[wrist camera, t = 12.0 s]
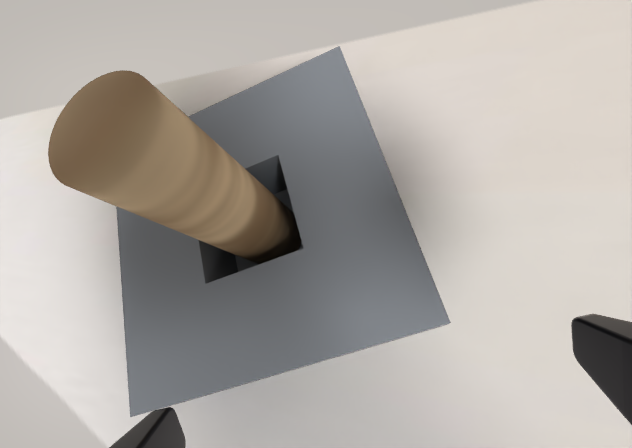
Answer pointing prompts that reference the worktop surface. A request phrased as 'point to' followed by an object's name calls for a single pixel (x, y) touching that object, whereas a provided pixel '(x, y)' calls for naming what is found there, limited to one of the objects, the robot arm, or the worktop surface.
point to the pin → (165, 169)
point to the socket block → (286, 271)
